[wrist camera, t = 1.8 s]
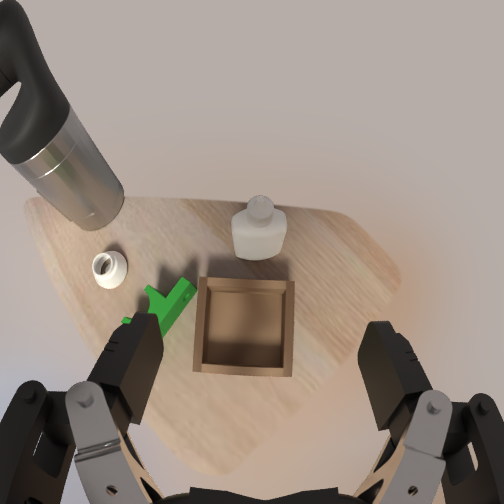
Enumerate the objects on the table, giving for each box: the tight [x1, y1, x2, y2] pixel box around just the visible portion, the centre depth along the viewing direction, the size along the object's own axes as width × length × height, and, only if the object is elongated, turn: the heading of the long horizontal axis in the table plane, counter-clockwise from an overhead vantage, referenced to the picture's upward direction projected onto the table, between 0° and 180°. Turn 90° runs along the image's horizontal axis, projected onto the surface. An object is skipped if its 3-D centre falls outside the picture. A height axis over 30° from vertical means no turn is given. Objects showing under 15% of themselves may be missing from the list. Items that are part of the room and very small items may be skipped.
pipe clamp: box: [121, 277, 197, 338], centre depth 30 cm, size 11×4×5 cm, turn 146°
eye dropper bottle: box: [231, 196, 287, 260], centre depth 29 cm, size 4×6×12 cm
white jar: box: [92, 251, 127, 289], centre depth 32 cm, size 5×3×5 cm
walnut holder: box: [193, 277, 295, 377], centre depth 29 cm, size 10×10×4 cm
